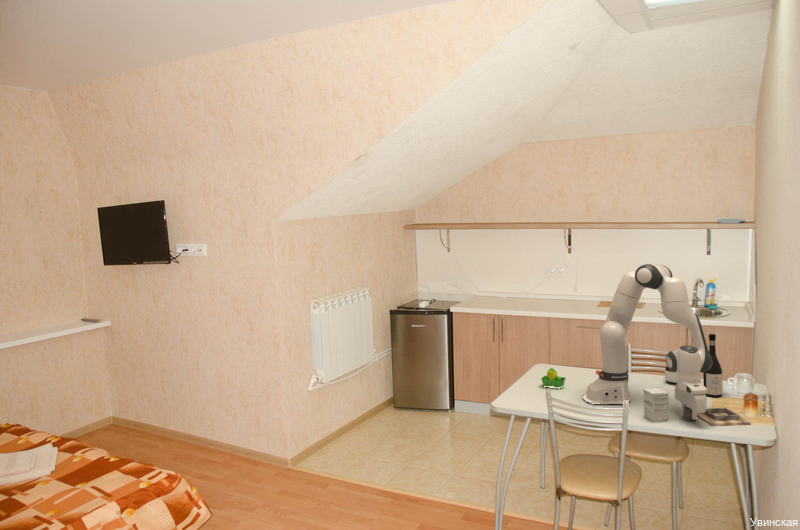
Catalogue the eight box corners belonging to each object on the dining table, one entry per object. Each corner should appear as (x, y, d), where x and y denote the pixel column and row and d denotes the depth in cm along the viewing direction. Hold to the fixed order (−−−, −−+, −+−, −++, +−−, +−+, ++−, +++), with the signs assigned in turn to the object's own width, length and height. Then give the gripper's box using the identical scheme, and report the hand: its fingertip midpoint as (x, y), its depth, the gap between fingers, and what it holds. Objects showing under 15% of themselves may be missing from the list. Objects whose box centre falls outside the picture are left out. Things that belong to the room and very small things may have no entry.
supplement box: (643, 416, 245) (643, 388, 244) (659, 415, 246) (659, 387, 245) (652, 422, 238) (652, 393, 237) (669, 421, 238) (668, 392, 238)
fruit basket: (566, 386, 296) (565, 365, 295) (561, 391, 289) (560, 369, 288) (545, 384, 302) (544, 364, 301) (540, 388, 295) (539, 367, 294)
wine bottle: (725, 398, 265) (724, 335, 263) (706, 397, 267) (706, 335, 265) (719, 393, 273) (718, 332, 271) (701, 392, 275) (700, 332, 273)
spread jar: (674, 386, 287) (674, 364, 287) (657, 381, 298) (656, 360, 297) (691, 382, 292) (691, 361, 292) (673, 378, 303) (672, 357, 302)
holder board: (711, 426, 230) (711, 419, 230) (692, 413, 246) (692, 406, 246) (751, 424, 230) (750, 417, 230) (728, 412, 246) (728, 405, 246)
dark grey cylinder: (686, 422, 236) (686, 410, 236) (680, 418, 241) (680, 407, 241) (699, 421, 236) (699, 410, 236) (693, 417, 241) (692, 406, 241)
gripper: (670, 378, 248) (671, 408, 249) (694, 391, 228) (694, 424, 229) (684, 377, 248) (685, 408, 249) (709, 391, 228) (710, 424, 228)
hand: (689, 416), depth 238 cm, fingers closed on dark grey cylinder, 5 cm apart
